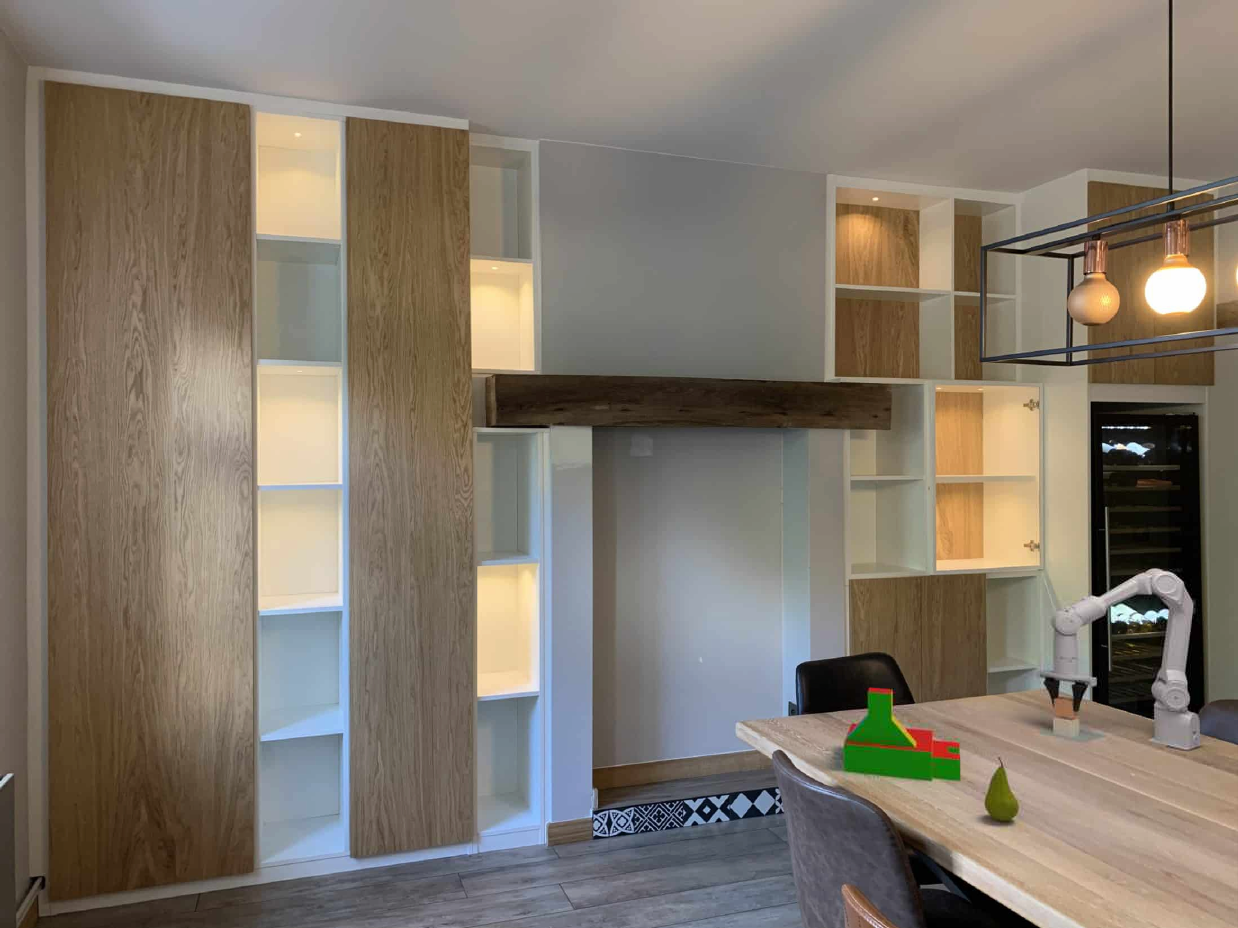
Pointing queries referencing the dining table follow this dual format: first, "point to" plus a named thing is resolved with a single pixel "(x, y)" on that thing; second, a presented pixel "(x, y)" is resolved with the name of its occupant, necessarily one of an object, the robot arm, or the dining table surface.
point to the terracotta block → (1064, 707)
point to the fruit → (1001, 797)
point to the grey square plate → (1081, 737)
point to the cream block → (1066, 726)
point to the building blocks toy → (897, 746)
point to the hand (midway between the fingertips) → (1066, 708)
